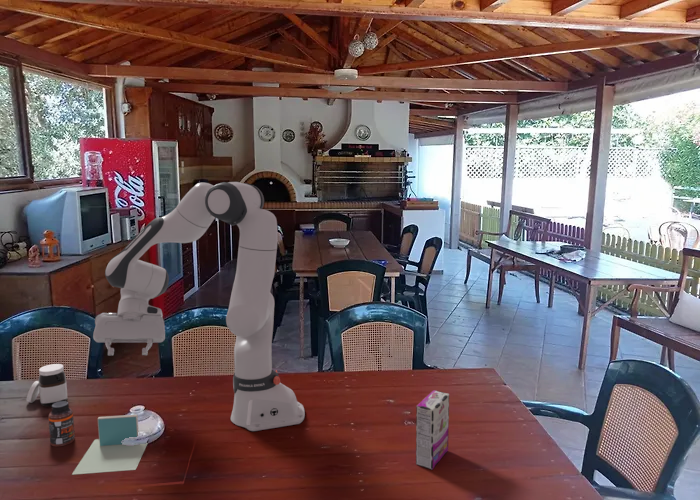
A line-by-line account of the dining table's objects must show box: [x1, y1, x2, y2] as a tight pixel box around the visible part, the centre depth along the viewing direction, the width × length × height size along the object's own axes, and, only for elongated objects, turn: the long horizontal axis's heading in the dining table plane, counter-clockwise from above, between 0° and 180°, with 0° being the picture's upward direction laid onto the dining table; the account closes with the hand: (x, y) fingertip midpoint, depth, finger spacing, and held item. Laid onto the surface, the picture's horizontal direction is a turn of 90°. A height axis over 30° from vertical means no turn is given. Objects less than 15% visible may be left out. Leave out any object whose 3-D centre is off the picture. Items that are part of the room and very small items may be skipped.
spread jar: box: [26, 363, 68, 407], centre depth 167 cm, size 12×11×12 cm
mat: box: [71, 438, 149, 476], centre depth 136 cm, size 15×17×1 cm
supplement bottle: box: [48, 400, 76, 448], centre depth 142 cm, size 6×6×11 cm
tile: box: [97, 414, 140, 446], centre depth 140 cm, size 10×1×8 cm, turn 99°
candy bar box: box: [415, 389, 450, 470], centre depth 135 cm, size 11×5×16 cm, turn 148°
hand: (127, 354), depth 154 cm, fingers open, 8 cm apart
